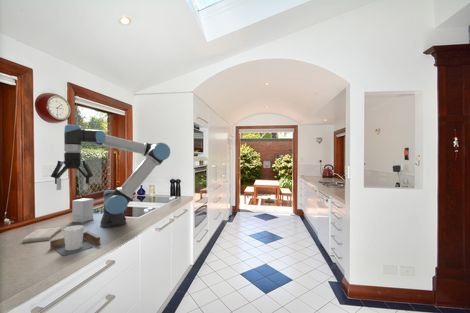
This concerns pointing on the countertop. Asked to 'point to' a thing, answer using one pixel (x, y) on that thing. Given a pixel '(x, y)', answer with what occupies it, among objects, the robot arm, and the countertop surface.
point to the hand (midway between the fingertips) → (72, 189)
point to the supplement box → (82, 210)
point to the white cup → (73, 237)
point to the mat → (66, 252)
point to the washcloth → (42, 234)
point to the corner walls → (86, 236)
